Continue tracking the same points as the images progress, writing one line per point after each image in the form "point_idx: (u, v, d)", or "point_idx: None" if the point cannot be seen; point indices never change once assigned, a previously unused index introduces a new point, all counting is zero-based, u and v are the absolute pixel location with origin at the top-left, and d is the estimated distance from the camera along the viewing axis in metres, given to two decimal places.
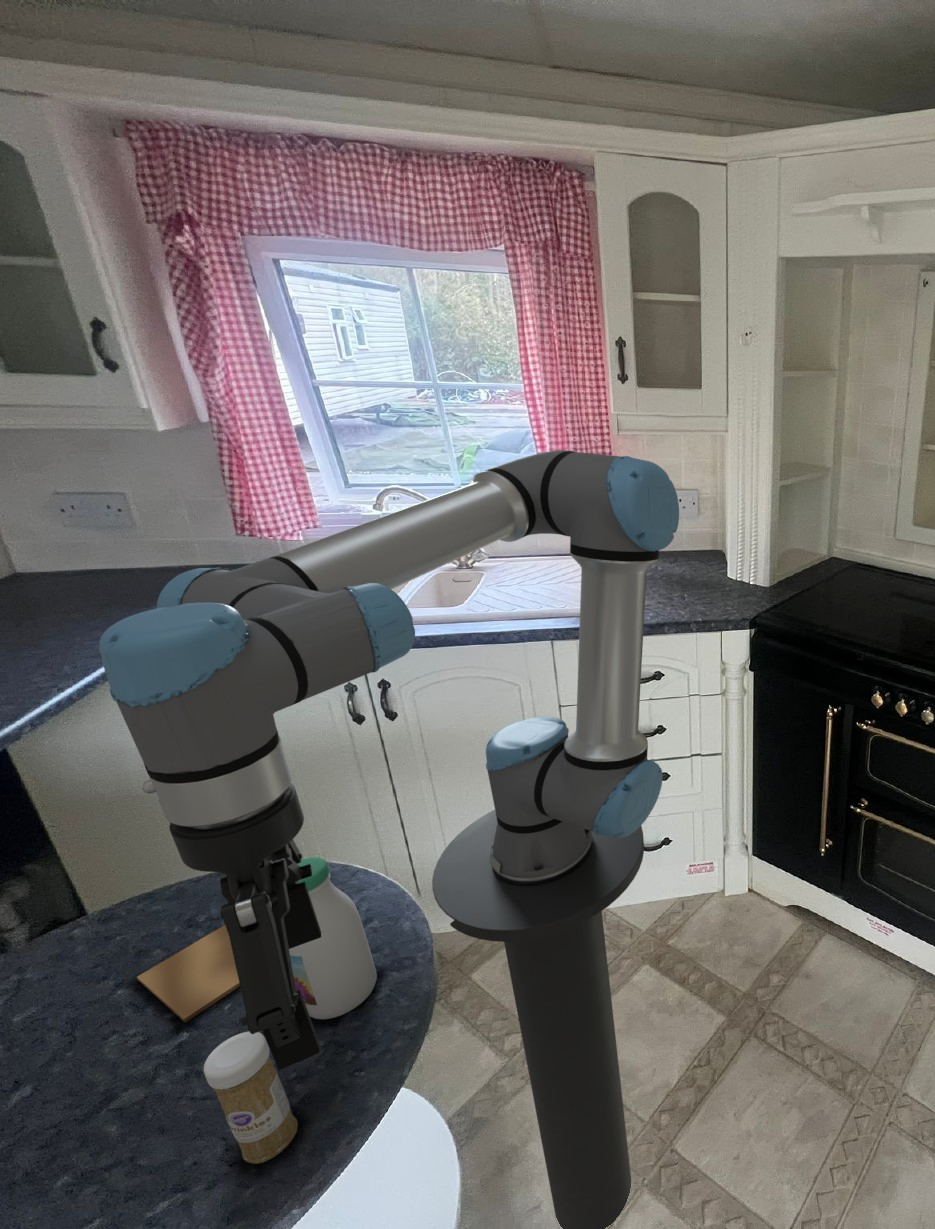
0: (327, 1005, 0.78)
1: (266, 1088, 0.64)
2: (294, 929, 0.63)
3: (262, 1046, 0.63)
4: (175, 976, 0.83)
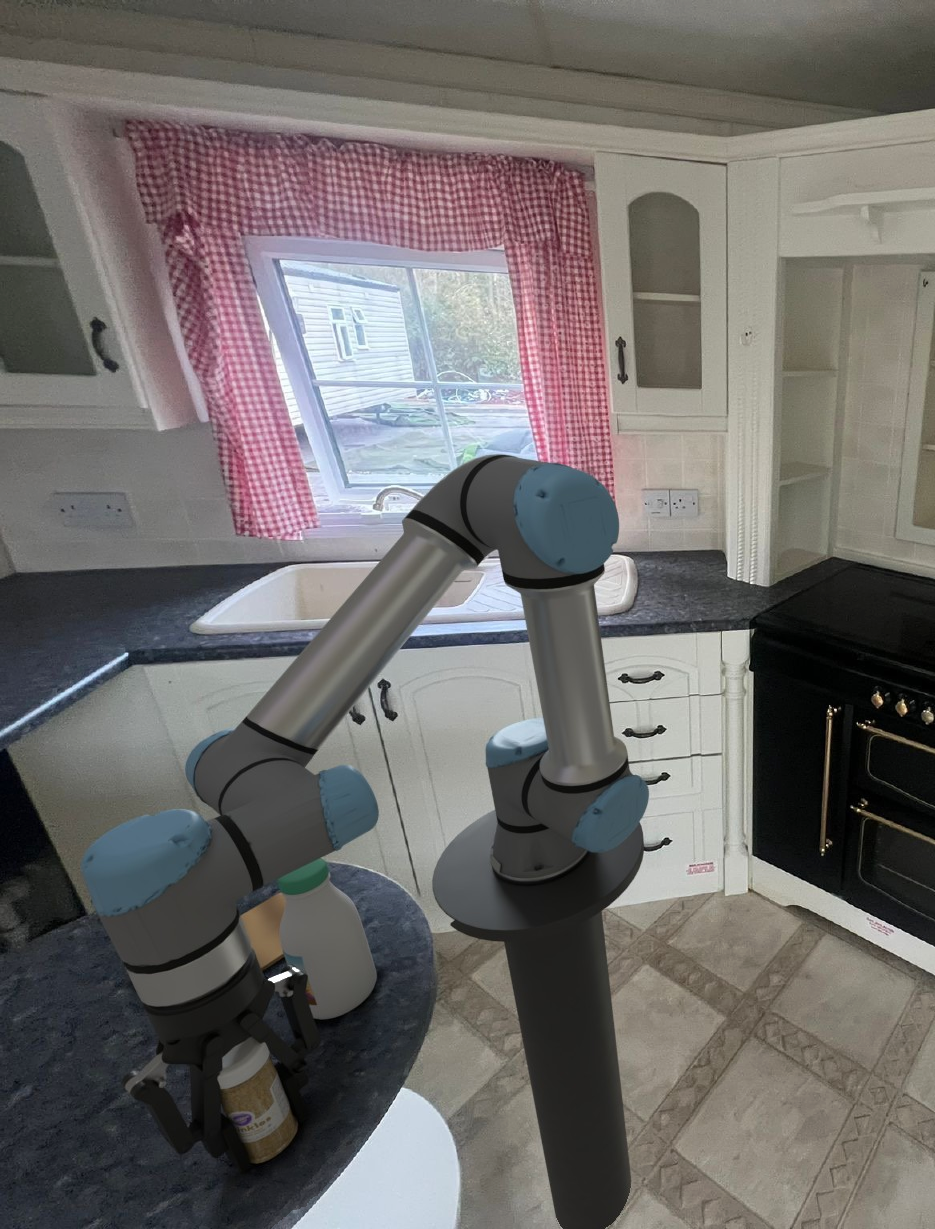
0: (327, 1005, 0.78)
1: (267, 1088, 0.64)
2: None
3: (262, 1046, 0.63)
4: None
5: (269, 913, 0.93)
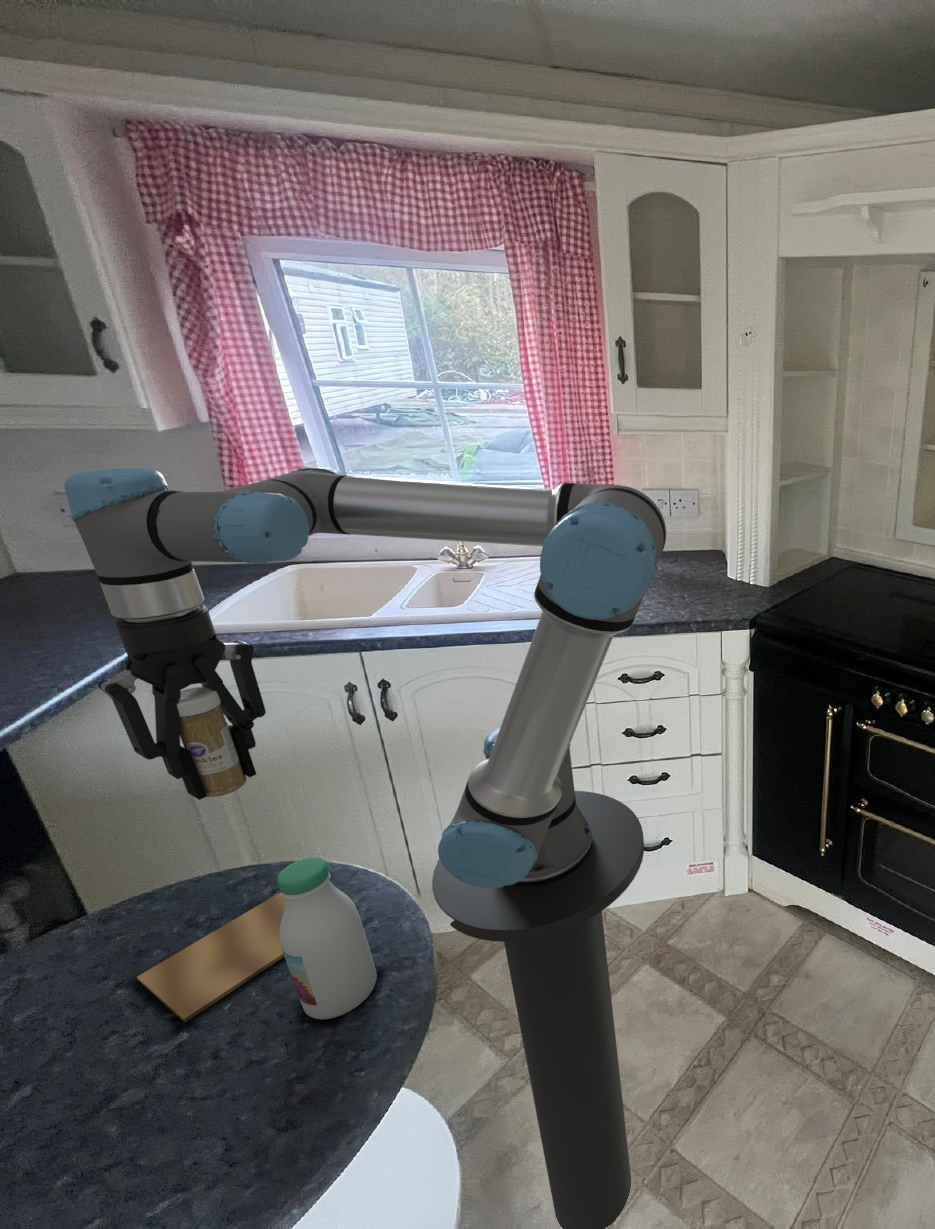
0: (327, 1005, 0.78)
1: (218, 729, 0.79)
2: None
3: (214, 692, 0.78)
4: (175, 976, 0.83)
5: (269, 913, 0.93)
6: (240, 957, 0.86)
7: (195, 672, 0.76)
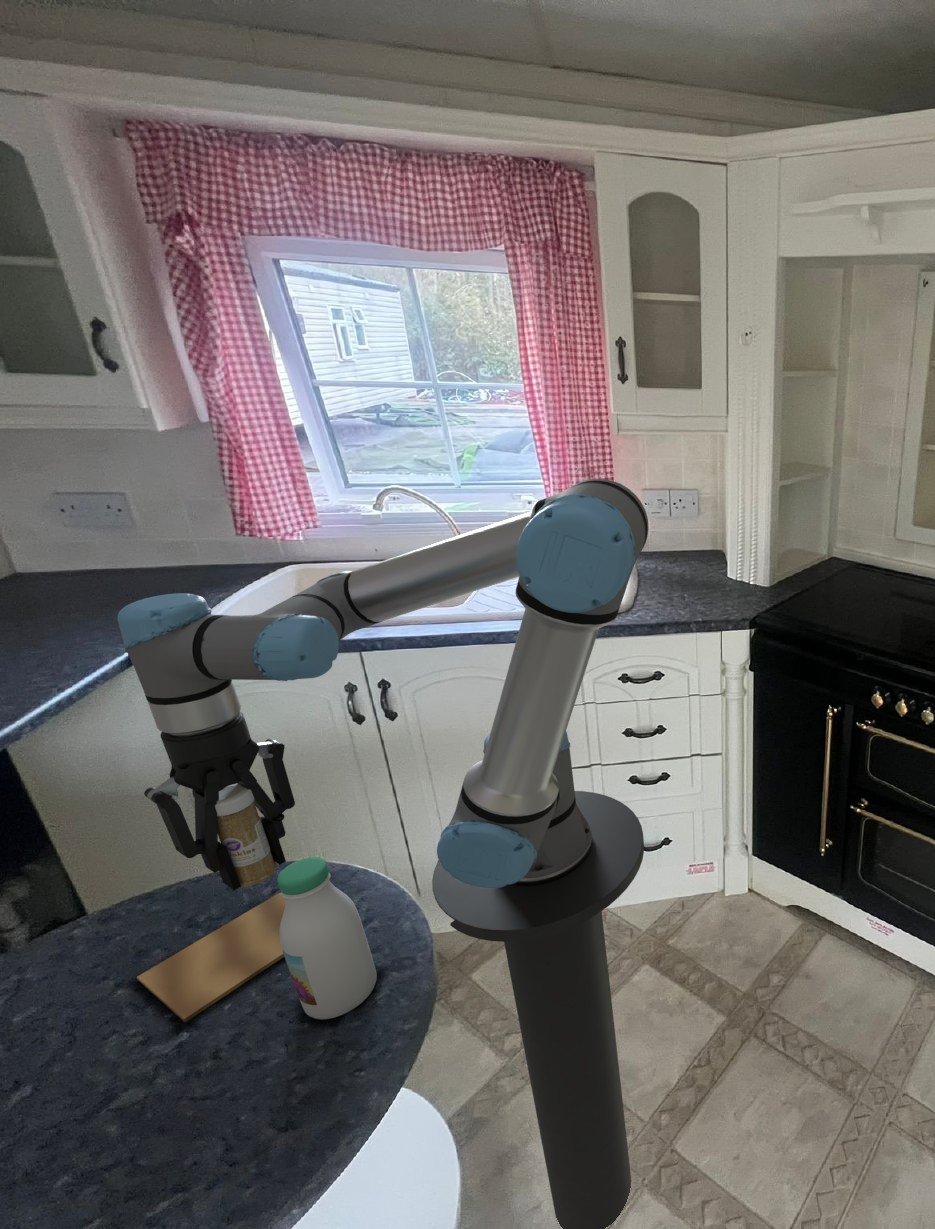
0: (327, 1005, 0.78)
1: (252, 825, 0.84)
2: None
3: (248, 791, 0.83)
4: (175, 976, 0.83)
5: (269, 913, 0.93)
6: (240, 957, 0.86)
7: (232, 774, 0.82)
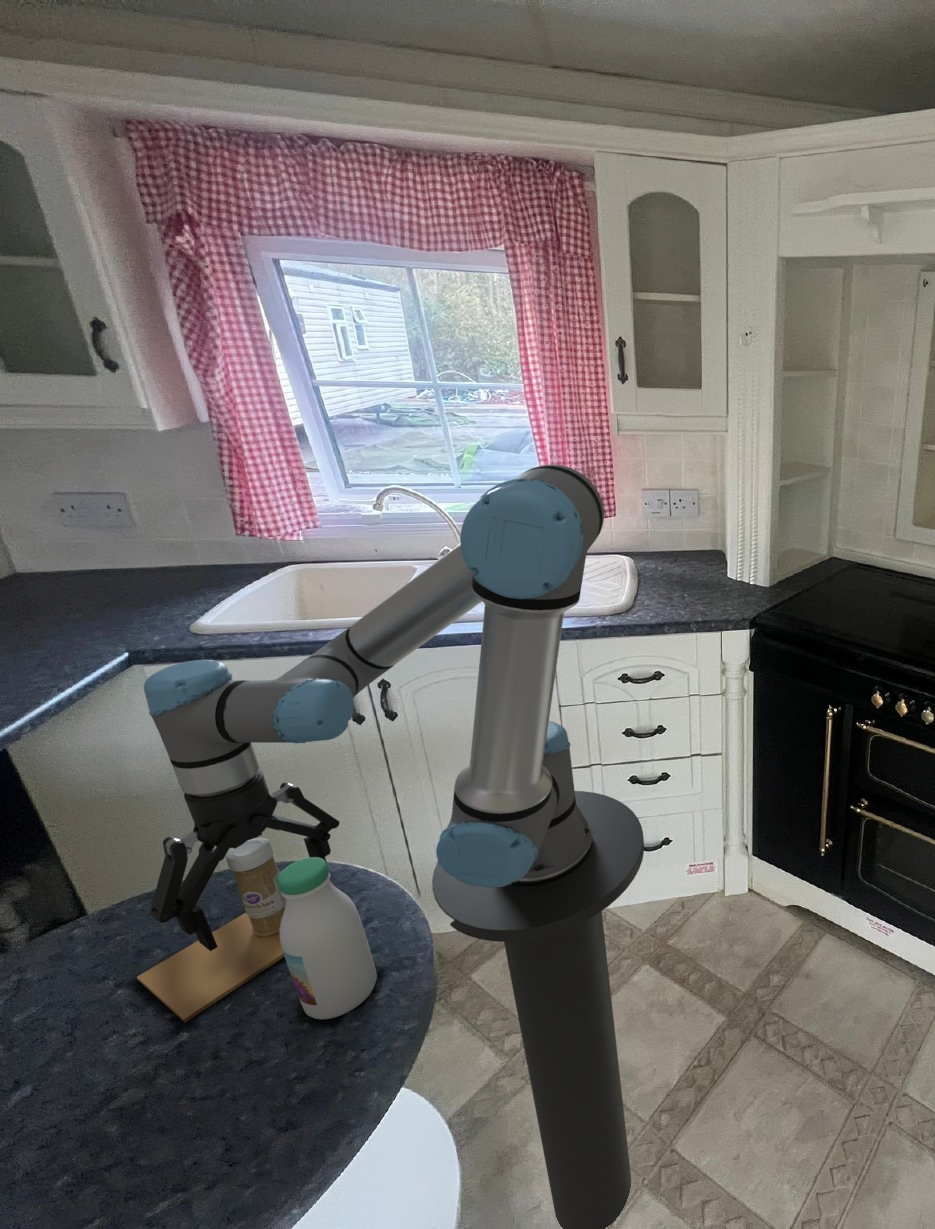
0: (327, 1005, 0.78)
1: (271, 878, 0.87)
2: None
3: (268, 846, 0.87)
4: (175, 976, 0.83)
5: None
6: (240, 957, 0.86)
7: (258, 826, 0.85)
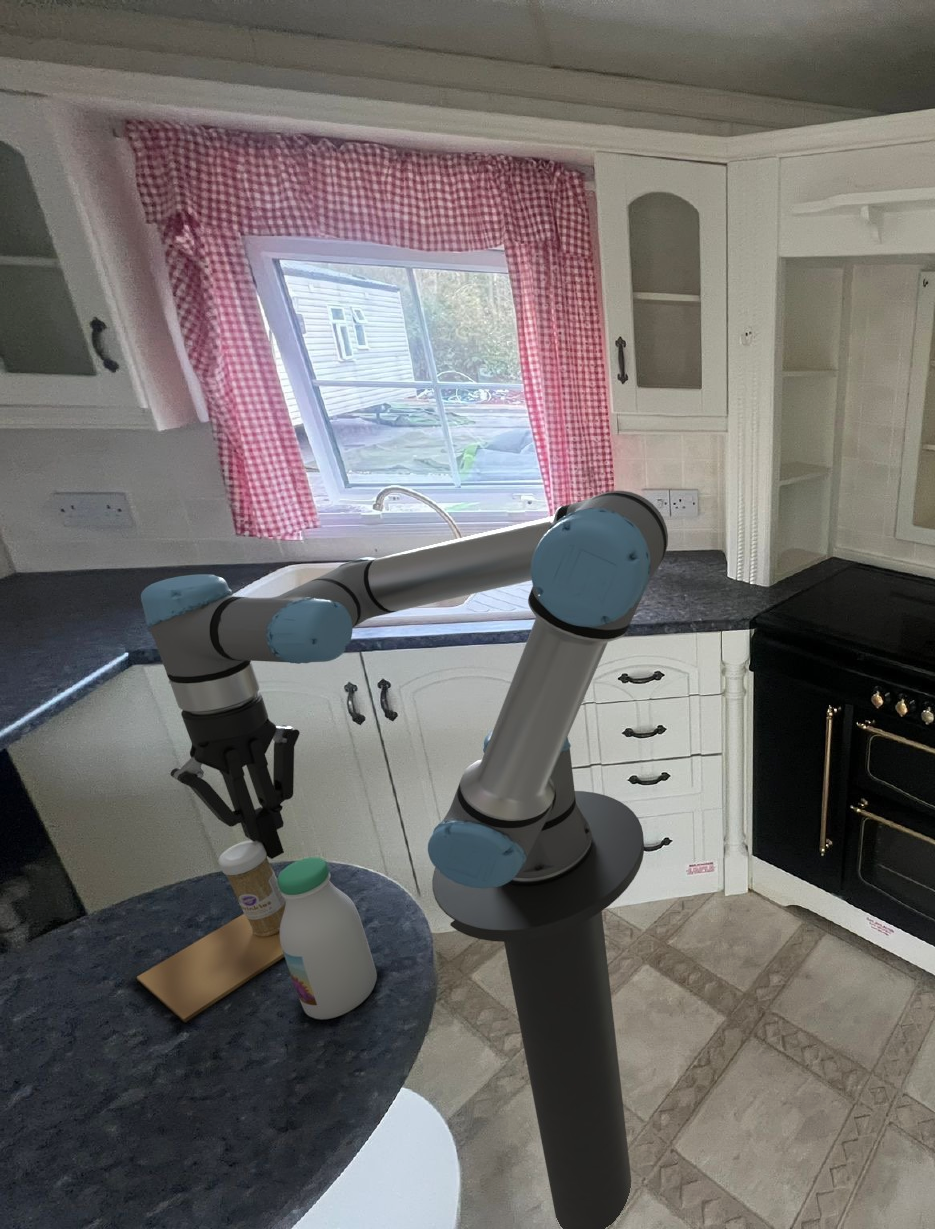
0: (327, 1005, 0.78)
1: (266, 880, 0.87)
2: None
3: (260, 848, 0.86)
4: (175, 976, 0.83)
5: None
6: (240, 957, 0.86)
7: (247, 753, 0.83)
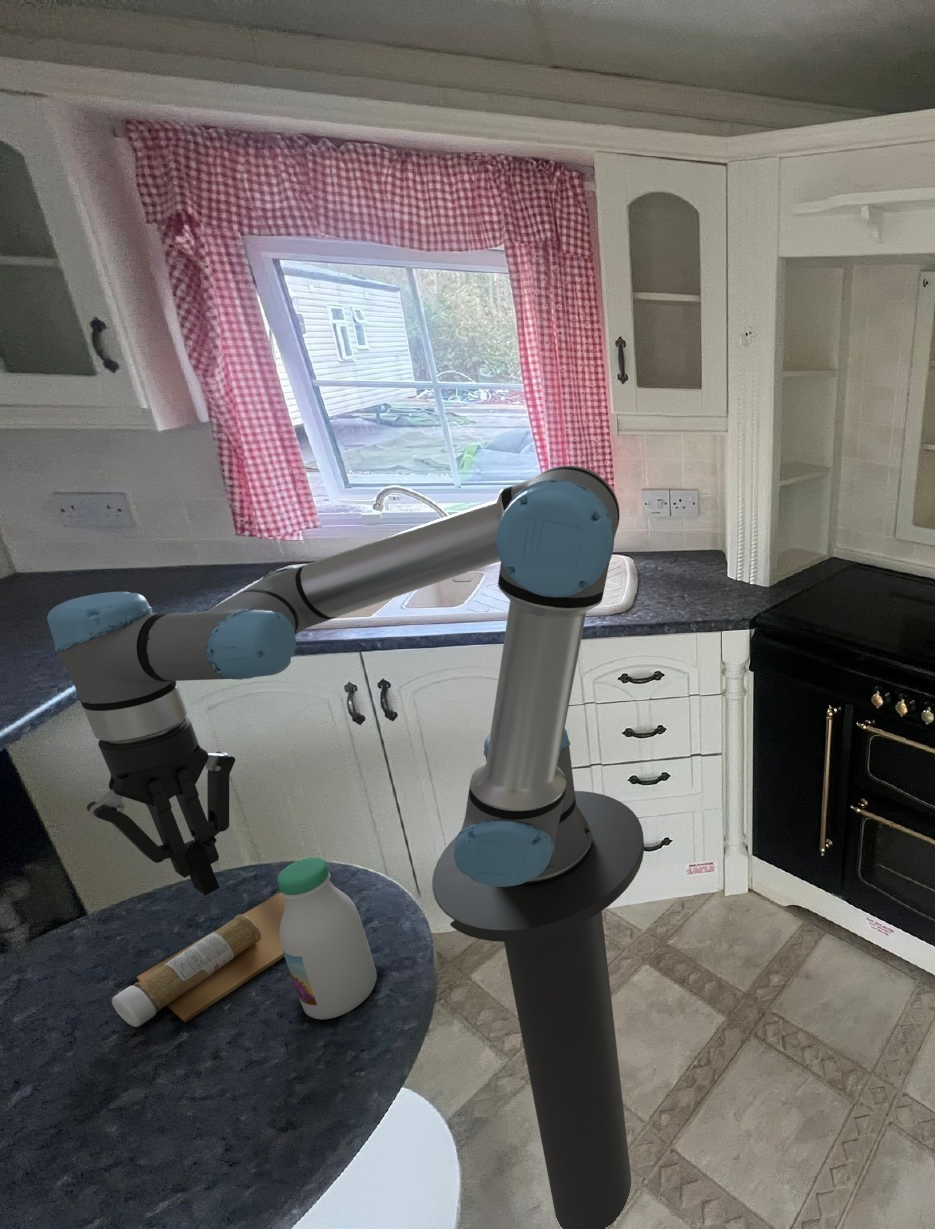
0: (327, 1005, 0.78)
1: (181, 984, 0.80)
2: None
3: (130, 1008, 0.75)
4: None
5: (269, 913, 0.93)
6: (240, 957, 0.86)
7: (174, 784, 0.77)
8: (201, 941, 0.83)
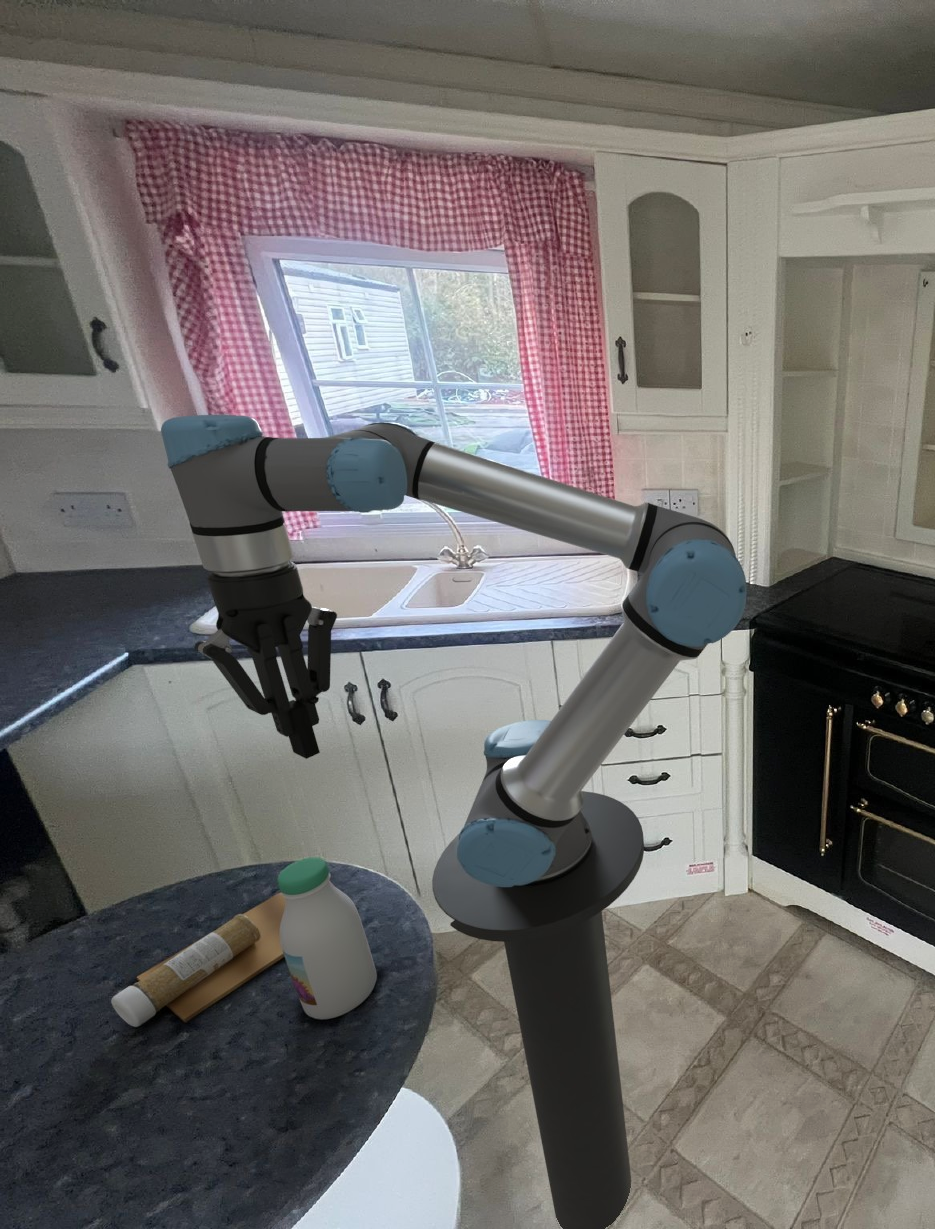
0: (327, 1005, 0.78)
1: (180, 983, 0.80)
2: None
3: (129, 1008, 0.75)
4: None
5: (269, 913, 0.93)
6: (240, 957, 0.86)
7: (280, 632, 0.73)
8: (200, 941, 0.83)
